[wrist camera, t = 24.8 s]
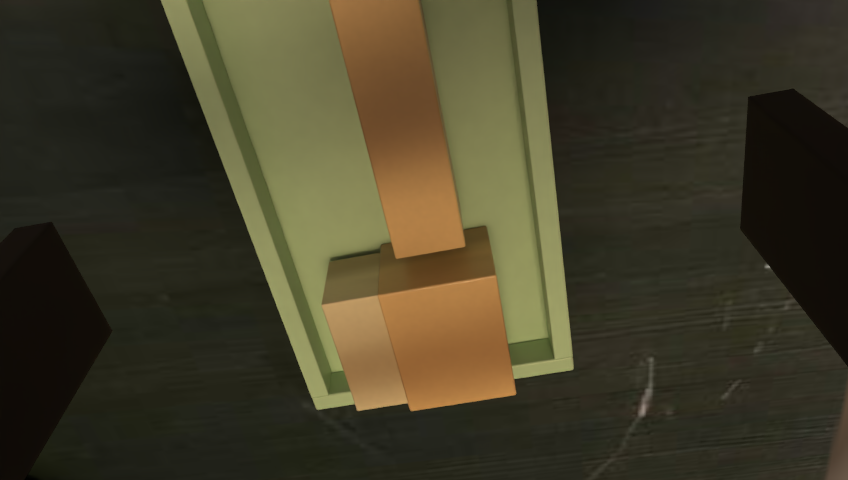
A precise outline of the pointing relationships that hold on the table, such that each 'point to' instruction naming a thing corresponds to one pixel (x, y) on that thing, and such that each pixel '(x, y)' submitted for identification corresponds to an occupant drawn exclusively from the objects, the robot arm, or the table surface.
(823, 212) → the robot arm
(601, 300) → the table surface
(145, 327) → the table surface
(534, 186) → the tray
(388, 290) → the wooden mallet
